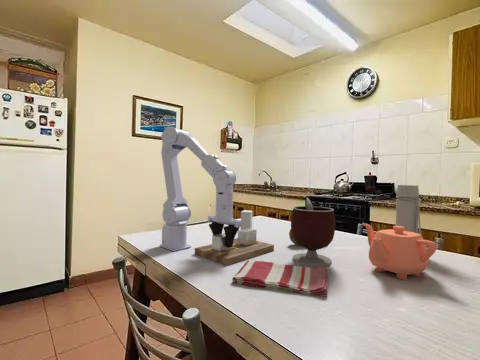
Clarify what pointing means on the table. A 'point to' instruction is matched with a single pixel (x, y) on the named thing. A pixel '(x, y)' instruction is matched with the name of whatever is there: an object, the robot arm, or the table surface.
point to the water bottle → (408, 208)
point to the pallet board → (234, 252)
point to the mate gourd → (312, 233)
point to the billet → (220, 243)
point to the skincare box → (246, 219)
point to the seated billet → (247, 237)
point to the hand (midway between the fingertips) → (223, 245)
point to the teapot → (399, 251)
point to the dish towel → (283, 277)
